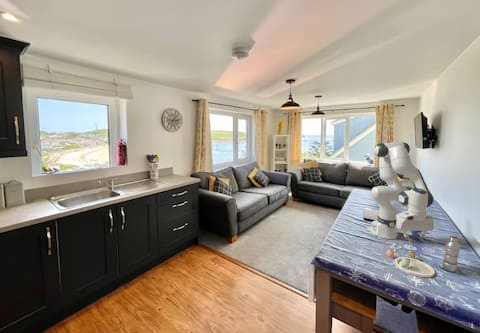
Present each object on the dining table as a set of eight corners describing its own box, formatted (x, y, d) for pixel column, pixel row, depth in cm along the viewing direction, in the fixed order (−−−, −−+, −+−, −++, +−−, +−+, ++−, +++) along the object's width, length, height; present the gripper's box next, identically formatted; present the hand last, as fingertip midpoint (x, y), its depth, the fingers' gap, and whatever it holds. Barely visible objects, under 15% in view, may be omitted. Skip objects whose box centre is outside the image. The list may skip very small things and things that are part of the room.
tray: (387, 260, 138) (388, 256, 138) (417, 260, 138) (417, 257, 138) (409, 278, 120) (409, 275, 120) (442, 279, 120) (443, 275, 120)
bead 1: (385, 256, 142) (386, 249, 142) (391, 256, 142) (391, 249, 142) (389, 259, 139) (389, 252, 138) (394, 259, 139) (395, 252, 138)
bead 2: (399, 265, 131) (400, 257, 130) (406, 265, 131) (406, 257, 130) (404, 269, 127) (405, 261, 127) (410, 269, 127) (411, 261, 127)
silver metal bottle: (456, 269, 129) (461, 237, 126) (457, 275, 124) (462, 241, 121) (441, 265, 133) (446, 233, 130) (441, 270, 128) (446, 237, 125)
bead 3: (406, 257, 141) (406, 250, 140) (411, 258, 141) (412, 250, 140) (410, 261, 137) (411, 253, 136) (416, 261, 137) (417, 253, 136)
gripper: (429, 213, 138) (426, 234, 140) (396, 213, 138) (393, 234, 140) (438, 217, 131) (435, 239, 133) (403, 217, 132) (400, 239, 134)
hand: (413, 236), depth 137 cm, fingers open, 8 cm apart
